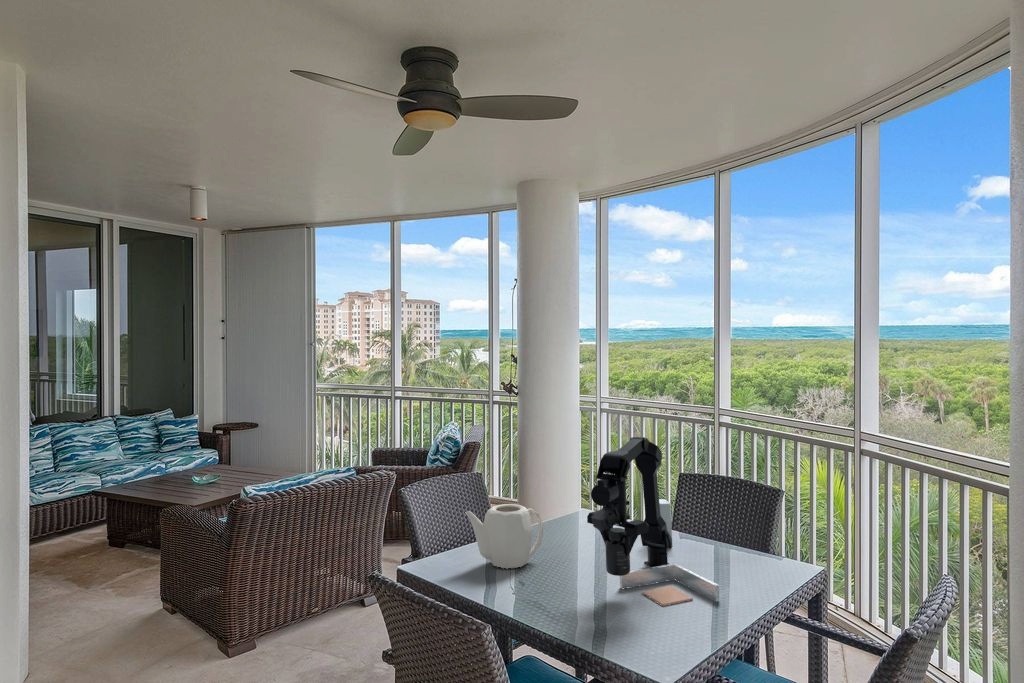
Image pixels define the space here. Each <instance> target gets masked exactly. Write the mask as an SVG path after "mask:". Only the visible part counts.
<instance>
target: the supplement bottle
mask: <svg viewBox="0 0 1024 683" xmlns="http://www.w3.org/2000/svg"><path fill="white" fill-rule="evenodd" d="M624 532H625V530H624V528H623V527H613V528H611V529H609V534H608V536H609V538H608V539H607V540H606V543H604V545H605V568H606V572H607V573H608V574H609V575H611V576H616V577H618V576H619V577H620V576H623V575H627V574H628V573H629V572H630V571H631V556H630V554H631V553H630V554H629V556H626V554H625V541H624V537H623V536H622V534H621V533H624Z"/></svg>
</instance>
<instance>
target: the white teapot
mask: <svg viewBox="0 0 1024 683" xmlns="http://www.w3.org/2000/svg"><path fill="white" fill-rule="evenodd" d="M464 513H465V514H466V516H467V518H468V519H469V521H470V524H471V526H472V529H473V531H474V536H475V539H476V543H477V547H478V551H479V554H480V556H482V558H484V559H487V560H489V561H490V562H491V564H492V566H493V567H494V566H497V567H496V568H498V567H501V569H504V568H506V569H505V570H509V569H508V568H511V569H519V568H518V567H520V568H522V567H523V566H525V565H526V564H528V563H529V559H530V557H531V556H532V555H534V554H535V553H536V551H537V550H538V548H540V546H541V544H542V539H543V536H544V526H543V523H542V518H541V516H540V514H539V513H538V512H537V511H536V510H534V509H533V508H532V507H531V508H530V507H529V508H527V507H525V506H524V505H521V504H515V503H504V504H498V505H494V506H492V507H491V508H490V509H487V511H486V513H485V516H484V520H483V521H484V522H482V521H481V520H480V519H479V517H477V516H476V515H475V513H473V512H472V511H471V510H468V511H465V512H464ZM532 515H534V516H535V517H536V519H537V522H538V534H537V537H536V540H535V541H536V542H535V543H534V544H533V546H532V543H533V533H534V529H533V524H532V518H531V516H532Z"/></svg>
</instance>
